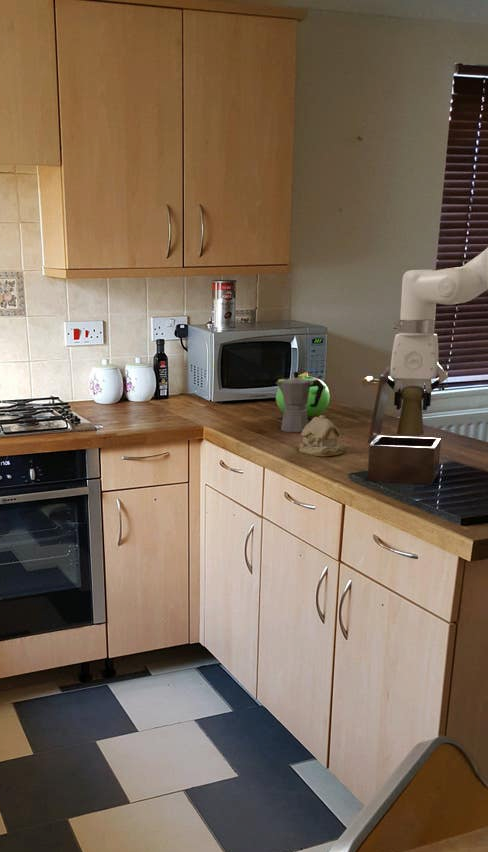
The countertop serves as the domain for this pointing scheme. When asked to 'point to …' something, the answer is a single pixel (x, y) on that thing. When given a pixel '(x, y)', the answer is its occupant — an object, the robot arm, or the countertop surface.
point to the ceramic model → (320, 438)
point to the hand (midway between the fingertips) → (411, 408)
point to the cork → (411, 411)
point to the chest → (404, 459)
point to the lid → (377, 404)
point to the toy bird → (311, 397)
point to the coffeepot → (297, 402)
